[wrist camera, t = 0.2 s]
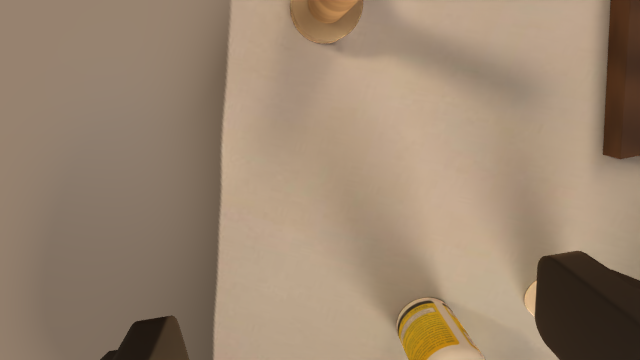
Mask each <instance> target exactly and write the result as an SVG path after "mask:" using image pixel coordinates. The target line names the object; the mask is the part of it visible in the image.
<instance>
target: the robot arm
mask: <svg viewBox="0 0 640 360" xmlns="http://www.w3.org/2000/svg"><path fill="white" fill-rule="evenodd" d="M535 321H536V325H537V329H538V331H539V333H540V336H541V337H542V339H543V341H544V342H545V344H546V345H547V346H548V347H549V348H550V349H551V350H552V352H553V353H554V354H555V355H556V356H557V357H558V358H559V359H560V360H640V281H639V280H637V279H634V278H632V277H629V276H627V275H624V274H621V273H619V272H616V271H614V270H610V269H608V268H607V267H605V266H604V265H602V264H601V263H599V262H598V261H596V260H595V259H593V258H592V257H590V256H589V255H587V254H586V253H584V252H581V251H573V252H567V253H561V254H555V255H549V256H543V257H542V258H541V259H540V260H539V262H538V267H537V284H536V301H535ZM100 360H189V357H188V354H187V350H186V347H185V344H184V340H183V337H182V333H181V330H180V327H179V324H178V321H177V319H176V318H175V317H174V316H166V317H160V318H154V319H148V320H142V321H137V322H135V323H134V324H133V325H132V326H131V328H130V329H129V331H128V333H127V335H126V336H125V338H124V340H123V342H122V343H121V345H120V347H119V349H118V350H114V351H109V352H108V353H107V354H106V355H105V356H104V357H102V359H100Z"/></svg>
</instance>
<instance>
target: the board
mask: <svg viewBox="0 0 640 360" xmlns="http://www.w3.org/2000/svg"><path fill="white" fill-rule="evenodd" d="M603 155H607V156H610V157H614V158H618V159H623V158H629V157H634V156H639V155H640V0H611V6H610V26H609V46H608V66H607V85H606V105H605V125H604V145H603Z"/></svg>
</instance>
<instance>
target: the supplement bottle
mask: <svg viewBox="0 0 640 360" xmlns="http://www.w3.org/2000/svg"><path fill="white" fill-rule="evenodd" d="M397 333H398V336H399V338H400V341H401V343H402V345H403V348H404V350H405V352H406V354H407V357H408V359H409V360H485V358H484V357H483V355H482V354H481V352H480V351H479V349H478V348H477V347H476V345H475V344H474V342H473V341H472V339H471V338H470V337H469V335H468V334H467V332H466V331H465V329H464V328H463V326H462V325H461V324H460V322H459V321H458V319H457V318H456V316H455V315H454V314H453V312H452V311H451V310H450V308H449V307H448V306H447V305H446V304H445V303H444V302H442V301H441V300H438V299H435V298H421V299H417V300H414V301H412V302H411V303H409V304H408V305H407V306H405V307H404V309H403V310H402V311H401V313H400V314H399V317H398V320H397Z"/></svg>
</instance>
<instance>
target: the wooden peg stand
mask: <svg viewBox="0 0 640 360" xmlns="http://www.w3.org/2000/svg"><path fill="white" fill-rule="evenodd" d="M362 9H363V0H291V3H290V11H291V17H292V20H293V23H294V25H295V27H296V28H297V30H298V31H299V32H300V33H301V34H302V35H303V36H304V37H305V38H307V39H308V40H310V41H313V42H316V43H323V44H325V43H332V42H335V41H337V40H339V39H341V38H342V37H344V36H346V35H347V34H348V33H350V32H351V31H352V30H353V29H354V27H355V26H356V24H357V23H358V21H359V19H360V16H361V13H362Z"/></svg>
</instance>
